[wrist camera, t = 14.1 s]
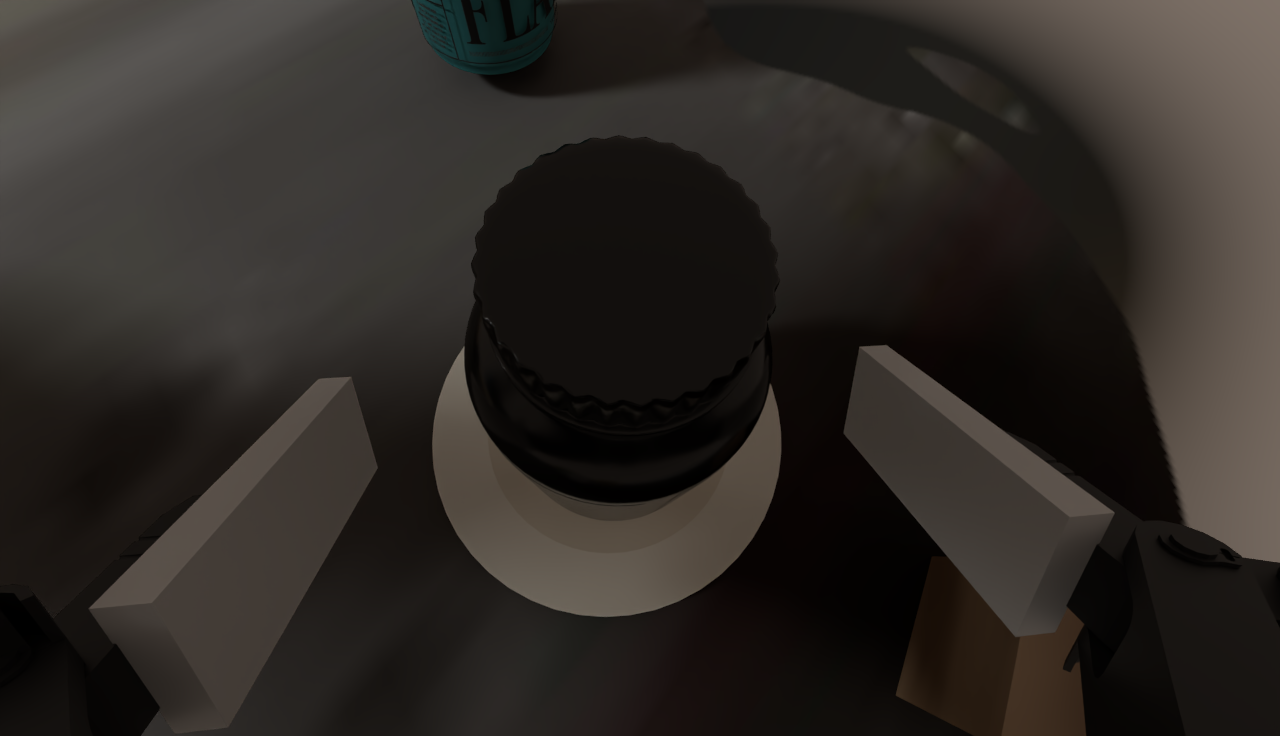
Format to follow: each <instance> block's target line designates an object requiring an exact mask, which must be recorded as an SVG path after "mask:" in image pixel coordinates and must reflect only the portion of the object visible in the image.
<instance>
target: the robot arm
mask: <svg viewBox="0 0 1280 736" xmlns="http://www.w3.org/2000/svg"><path fill="white" fill-rule="evenodd" d="M844 434H845V436H846V437H847V438H848V439H849V440H850V442H851V443H852V444H853V445H854V446H855V447H856V449H857V450H858V451H859V452H860V453H861V455H862V456H863V457H864V458H865V459H866V460H867V462H868V463H869V464H870V465H871V466H872V468H873V469H874V470H875V471H876V472H877V474H878V475H879V476H880V477H881V478H882V479H883V481H884V482H885V483H886V484H887V485H888V487H889V488H890V489H891V490H892V491H893V492H894V494H895V495H896V496H897V497H898V498H899V500H900V501H901V502H902V503H903V504H904V506H905V507H906V508H907V509H908V510H909V511H910V513H911V514H912V515H913V516H914V517H915V519H916V520H917V521H918V522H919V523H920V524H921V526H922V527H923V528H924V529H925V530H926V532H927V533H928V534H929V535H930V536H931V538H932V539H933V540H934V541H935V542H936V543H937V545H938V546H939V547H940V548H941V549H942V551H943V552H944V553H945V554H946V555H947V556H948V558H949V559H950V560H951V561H952V562H953V564H954V565H955V566H956V567H957V568H958V570H959V571H960V572H961V573H962V574H963V575H964V577H965V578H966V579H967V580H968V581H969V583H970V584H971V585H972V586H973V587H974V588H975V590H976V591H977V592H978V593H979V594H980V596H981V597H982V598H983V599H984V600H985V602H986V603H987V604H988V605H989V606H990V607H991V609H992V610H993V611H994V612H995V613H996V615H997V616H998V617H999V618H1000V619H1001V620H1002V622H1003V623H1004V624H1005V625H1006V626H1007V628H1008V629H1009V630H1010V631H1011V632H1012V634H1013V635H1014V636H1015V637H1020V636H1028V635H1037V634H1046V633H1055V632H1056V630H1057V628H1058V626H1059V624H1060V622H1061V620H1062V618H1063V616H1064V614H1065V612H1066V610H1067V608H1069V609H1070V610H1071V611H1072V612H1073V613H1074V614H1075V615H1076V616H1077V617H1078V618H1079V619H1080V620H1081V621H1082V622H1083V623H1084V625H1083V627H1082V629H1081V631H1080V633H1079V635H1078V637H1077V639H1076V641H1075V642H1074V644H1073V646H1072V648H1071V650H1070V652H1069V654H1068V656H1067V658H1066V659H1065V662H1064V666H1063V670H1065V671H1068V672H1071V670H1072V669H1073V667H1074V665H1075V663H1078V662H1080V672H1081V683H1082V694H1083V705H1084V716H1085V727H1086V736H1280V563H1277V562H1269V561H1263V560H1256V559H1249V558H1242V557H1241V555H1239V554H1238V553H1236V552H1235V551H1233V550H1232V549H1231V548H1230V547H1228V546H1227V545H1225V544H1224V543H1222V542H1220V541H1218V540H1216V539H1215V538H1213V537H1211V536H1209V535H1207V534H1205V533H1203V532H1200V531H1197V530H1194V529H1192V528H1189V527H1186V526H1184V525H1180V524H1175V523H1171V522H1166V521H1144V522H1143V521H1142V520H1141V519H1139V518H1138V517H1136V516H1135V515H1134V514H1132V513H1131V512H1129V511H1128V510H1127V509H1125V508H1124V507H1122V506H1121V505H1120V504H1118V503H1117V502H1115V501H1114V500H1113V499H1111V498H1110V497H1108V496H1107V495H1106V494H1104V493H1103V492H1101V491H1100V490H1099V489H1097V488H1096V487H1094V486H1093V485H1091V484H1090V483H1089V482H1087V481H1086V480H1084V479H1083V478H1082V477H1080V476H1075V474H1074V472H1073V471H1072V470H1070V469H1069V468H1068V467H1066V466H1065V465H1063V464H1062V463H1057V460H1056V459H1055V458H1054V457H1052V456H1051V455H1049V454H1048V453H1047V452H1045V451H1044V450H1042V449H1041V448H1040V447H1038V446H1037V445H1035V444H1033V443H1031V442H1029V441H1027V440H1025V439H1022V438H1020V437H1018V436H1016V435H1014V434H1012V433H1009V432H1004V431H1003V430H1001V429H1000V428H999V427H997V426H996V425H995V424H993V423H992V422H990V421H989V420H988V419H986V418H985V417H984V416H982V415H981V414H980V413H978V412H977V411H975V410H974V409H973V408H971V407H970V406H969V405H967V404H966V403H965V402H963V401H962V400H960V399H959V398H958V397H956V396H955V395H954V394H952V393H951V392H950V391H948V390H947V389H945V388H944V387H943V386H941V385H940V384H939V383H937V382H936V381H935V380H933V379H932V378H930V377H929V376H928V375H926V374H925V373H924V372H922V371H921V370H920V369H918V368H917V367H915V366H914V365H913V364H911V363H910V362H909V361H907V360H906V359H905V358H903V357H902V356H900V355H899V354H898V353H896V352H895V351H894V350H892V349H891V348H890V347H888V346H887V345H882V346H865V347H859V352H858V358H857V363H856V368H855V374H854V379H853V384H852V390H851V395H850V400H849V406H848V411H847V417H846V422H845V427H844ZM377 468H378V467H377V463H376V460H375V456H374V453H373V449H372V446H371V443H370V439H369V436H368V432H367V429H366V425H365V422H364V419H363V415H362V412H361V408H360V405H359V401H358V398H357V394H356V391H355V388H354V384H353V381H352V377H340V378H323V379H318V380H317V381H316V382H315V383H314V384H313V385H312V386H311V387H310V388H309V389H308V390H307V391H306V392H305V393H304V394H303V395H302V396H301V397H300V398H299V399H298V400H297V401H296V402H295V403H294V404H293V405H292V406H291V407H290V408H289V409H288V410H287V411H286V412H285V413H284V414H283V415H282V416H281V417H280V418H279V419H278V420H277V421H276V422H275V423H274V424H273V425H272V426H271V427H270V428H269V429H268V430H267V431H266V432H265V433H264V434H263V435H262V436H261V437H260V438H259V439H258V440H257V441H256V442H255V443H254V444H253V445H252V446H251V447H250V448H249V449H248V450H247V451H246V452H245V453H244V454H243V455H242V456H241V457H240V458H239V459H238V460H237V461H236V462H235V463H234V464H233V465H232V466H231V467H230V468H229V469H228V470H227V471H226V472H225V473H224V474H223V475H222V476H221V477H220V478H219V479H218V480H217V481H216V482H215V483H214V484H213V485H212V486H211V487H210V488H209V489H208V490H207V491H206V492H205V493H204V494H203V495H199V496H192V497H191V498H189V499H187V500H186V501H184V502H183V503H181V504H179V505H178V506H176V507H175V508H173V509H171V510H170V511H168V512H167V513H165V514H163V515H162V516H161V517H160V518H159V519H158V520H157V521H156V522H155V523H154V524H152V525H151V526H150V527H149V528H148V529H147V530H146V531H145V532H144V533H143V534H142V535H141V536H140V537H139V541H137V542H134V543H132V544H131V545H130V546H129V547H128V548H127V549H126V550H125V551H124V552H123V553H122V554H121V555H120V559H119V560H115V561H114V562H112V563H111V564H110V565H109V566H108V567H107V568H106V569H105V570H104V571H103V572H102V573H101V574H100V575H99V576H98V577H97V578H96V579H95V580H94V581H93V582H91V583H90V584H89V585H88V586H87V587H86V588H85V589H84V590H83V591H82V592H81V593H80V594H79V595H78V596H77V597H76V598H75V599H74V600H73V601H71V602H70V603H69V604H68V605H67V606H66V607H65V608H64V609H63V610H62V611H61V612H60V613H59V614H58V615H57V616H56V617H55V618H54V619H52V617H51V616H50V615H49V613H48V612H47V611H46V609H45V608H44V607H43V605H42V604H41V603H40V601H39V600H38V599H37V597H36V596H35V595H34V593H33V592H32V591H31V589H30V588H29V587H27V586H21V585H15V584H11V585H5V586H0V736H141V735H142V733H143V732H144V730H145V729H146V728H147V726H148V725H149V723H150V722H151V720H152V719H153V718H154V716H155V715H156V713H157V712H158V711H160V713H161V714H162V716H163V717H164V719H165V720H166V721H167V723H168V724H169V726H170V727H171V729H172V730H173V731H174V733H175V734H177V733H186V732H195V731H203V730H212V729H221V728H228V727H229V725H230V724H231V722H232V720H233V719H234V717H235V715H236V713H237V712H238V710H239V708H240V706H241V705H242V703H243V701H244V699H245V698H246V696H247V694H248V692H249V691H250V689H251V687H252V686H253V684H254V682H255V680H256V679H257V677H258V675H259V673H260V672H261V670H262V668H263V666H264V665H265V663H266V661H267V659H268V658H269V656H270V654H271V653H272V651H273V649H274V647H275V646H276V644H277V642H278V640H279V639H280V637H281V635H282V633H283V632H284V630H285V628H286V626H287V625H288V623H289V621H290V620H291V618H292V616H293V614H294V613H295V611H296V609H297V607H298V606H299V604H300V602H301V600H302V599H303V597H304V595H305V593H306V592H307V590H308V588H309V587H310V585H311V583H312V581H313V580H314V578H315V576H316V574H317V573H318V571H319V569H320V567H321V566H322V564H323V562H324V560H325V559H326V557H327V555H328V554H329V552H330V550H331V548H332V547H333V545H334V543H335V541H336V540H337V538H338V536H339V534H340V533H341V531H342V529H343V527H344V526H345V524H346V522H347V521H348V519H349V517H350V515H351V514H352V512H353V510H354V508H355V507H356V505H357V503H358V501H359V500H360V498H361V496H362V495H363V493H364V491H365V489H366V488H367V486H368V484H369V482H370V481H371V479H372V477H373V475H374V474H375V472H376V470H377Z"/></svg>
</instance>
